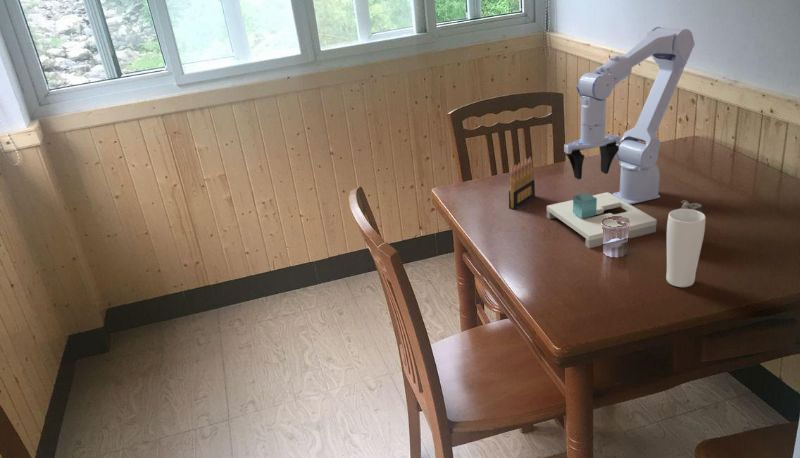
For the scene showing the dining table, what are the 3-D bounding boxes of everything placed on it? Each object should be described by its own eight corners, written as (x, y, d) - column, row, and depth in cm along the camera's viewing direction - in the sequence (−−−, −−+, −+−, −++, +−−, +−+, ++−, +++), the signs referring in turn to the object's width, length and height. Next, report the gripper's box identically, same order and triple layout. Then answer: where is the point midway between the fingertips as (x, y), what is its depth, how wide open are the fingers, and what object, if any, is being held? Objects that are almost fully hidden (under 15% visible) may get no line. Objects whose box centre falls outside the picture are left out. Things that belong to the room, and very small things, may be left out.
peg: (587, 221, 156) (587, 192, 152) (596, 228, 152) (597, 198, 148) (571, 225, 155) (572, 196, 151) (581, 232, 151) (581, 202, 147)
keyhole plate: (607, 203, 164) (607, 192, 163) (655, 232, 147) (656, 219, 145) (546, 217, 161) (546, 205, 159) (588, 248, 143) (589, 236, 142)
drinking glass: (656, 276, 129) (661, 210, 123) (687, 271, 129) (694, 206, 123) (672, 292, 123) (678, 224, 117) (704, 287, 123) (713, 220, 117)
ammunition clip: (514, 209, 167) (513, 168, 162) (508, 208, 168) (507, 167, 163) (535, 196, 174) (534, 155, 169) (529, 195, 175) (528, 154, 170)
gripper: (609, 114, 155) (607, 165, 161) (557, 124, 152) (557, 175, 158) (626, 120, 149) (623, 173, 155) (573, 131, 146) (572, 184, 152)
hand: (591, 175), depth 156 cm, fingers open, 7 cm apart
